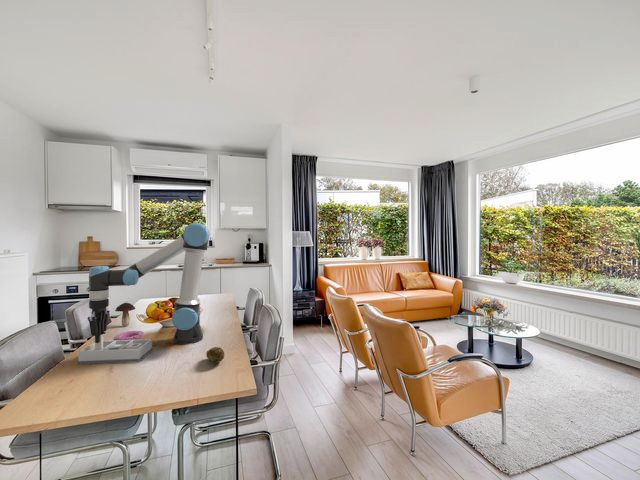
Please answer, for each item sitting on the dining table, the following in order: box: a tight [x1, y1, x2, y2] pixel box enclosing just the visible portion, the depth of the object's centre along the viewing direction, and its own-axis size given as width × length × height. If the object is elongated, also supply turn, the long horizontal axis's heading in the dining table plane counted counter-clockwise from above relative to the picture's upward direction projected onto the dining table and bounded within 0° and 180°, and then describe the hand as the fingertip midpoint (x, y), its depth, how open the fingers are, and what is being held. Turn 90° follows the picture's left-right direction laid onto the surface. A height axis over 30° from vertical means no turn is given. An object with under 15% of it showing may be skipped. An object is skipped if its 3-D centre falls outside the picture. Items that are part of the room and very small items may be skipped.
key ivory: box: [127, 343, 143, 349], centre depth 143 cm, size 5×5×3 cm
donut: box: [112, 330, 145, 340], centre depth 161 cm, size 14×14×5 cm
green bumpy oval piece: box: [205, 346, 226, 364], centre depth 136 cm, size 8×13×8 cm, turn 15°
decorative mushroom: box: [114, 302, 136, 327], centre depth 190 cm, size 11×11×15 cm
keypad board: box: [77, 338, 154, 365], centre depth 142 cm, size 26×14×6 cm, turn 97°
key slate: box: [109, 344, 125, 350], centre depth 142 cm, size 5×5×3 cm
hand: (99, 348), depth 141 cm, fingers closed
